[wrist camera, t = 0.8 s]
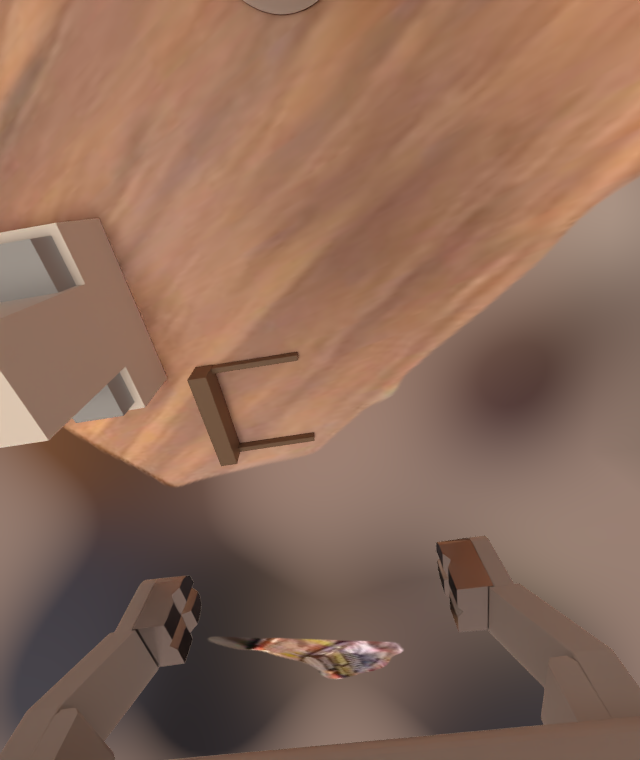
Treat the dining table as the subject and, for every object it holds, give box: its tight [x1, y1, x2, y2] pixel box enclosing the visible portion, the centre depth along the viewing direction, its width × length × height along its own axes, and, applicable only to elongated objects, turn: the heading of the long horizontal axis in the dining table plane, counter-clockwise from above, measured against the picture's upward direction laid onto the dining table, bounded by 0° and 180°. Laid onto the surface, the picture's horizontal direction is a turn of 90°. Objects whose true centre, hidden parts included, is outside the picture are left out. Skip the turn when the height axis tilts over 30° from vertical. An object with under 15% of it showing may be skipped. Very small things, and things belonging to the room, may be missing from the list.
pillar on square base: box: [0, 218, 167, 448], centre depth 36 cm, size 22×19×22 cm
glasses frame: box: [187, 352, 314, 466], centre depth 52 cm, size 16×15×4 cm
